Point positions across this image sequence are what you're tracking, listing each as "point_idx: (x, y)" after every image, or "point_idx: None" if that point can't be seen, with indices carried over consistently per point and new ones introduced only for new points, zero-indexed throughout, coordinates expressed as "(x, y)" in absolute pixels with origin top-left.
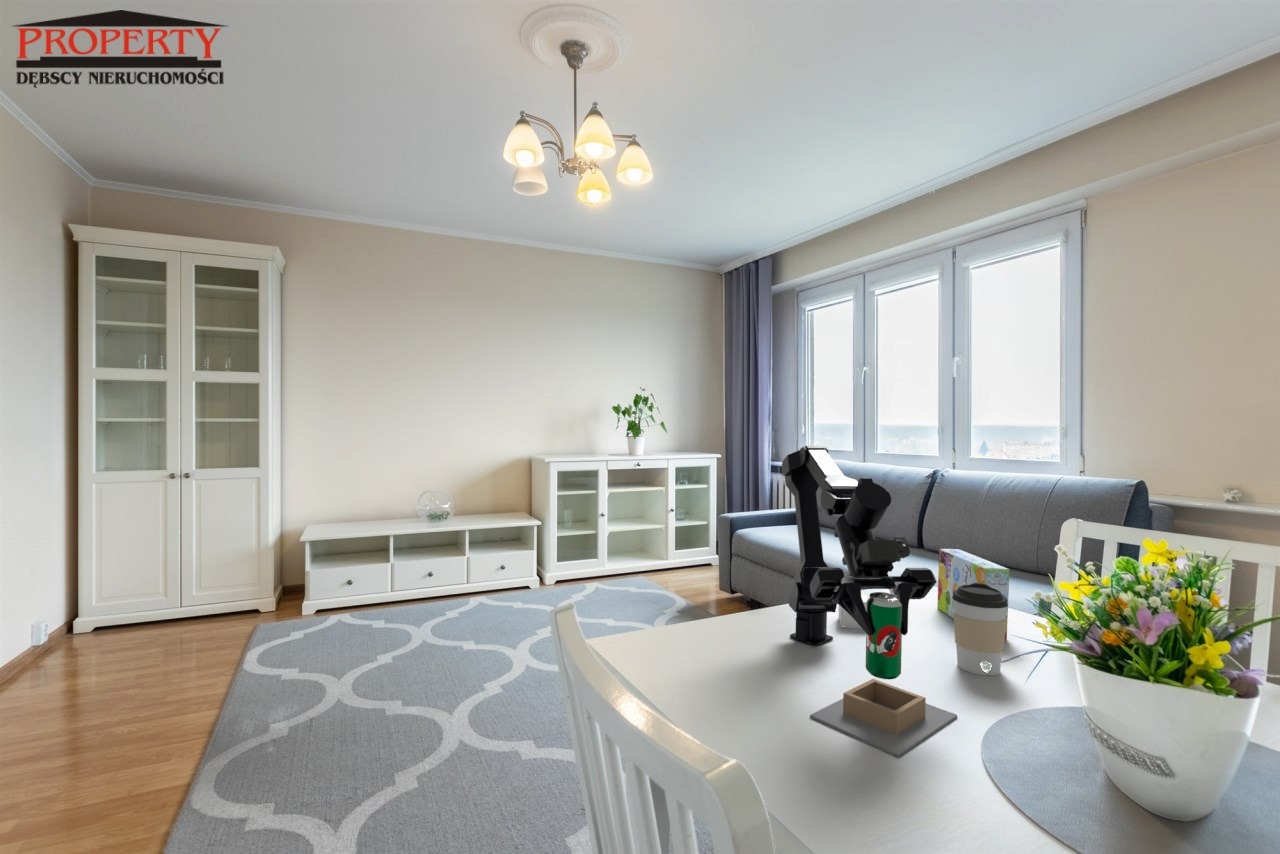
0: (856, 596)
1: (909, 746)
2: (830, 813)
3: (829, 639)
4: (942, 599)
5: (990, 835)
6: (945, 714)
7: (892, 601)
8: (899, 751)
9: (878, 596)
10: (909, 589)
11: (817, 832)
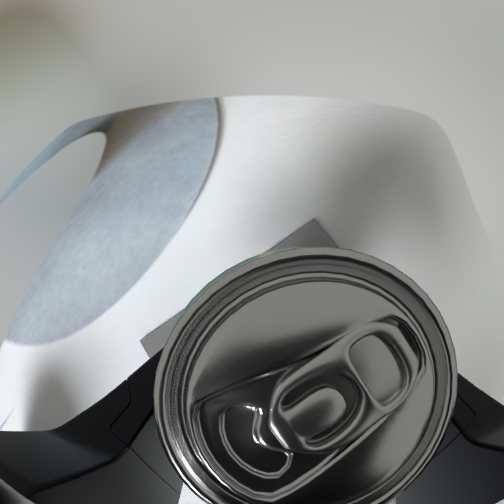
0: (500, 425)
1: (285, 240)
2: (415, 137)
3: None
4: None
5: (276, 101)
6: (158, 345)
7: (300, 249)
8: (308, 227)
9: (387, 403)
10: (15, 441)
11: (424, 121)
